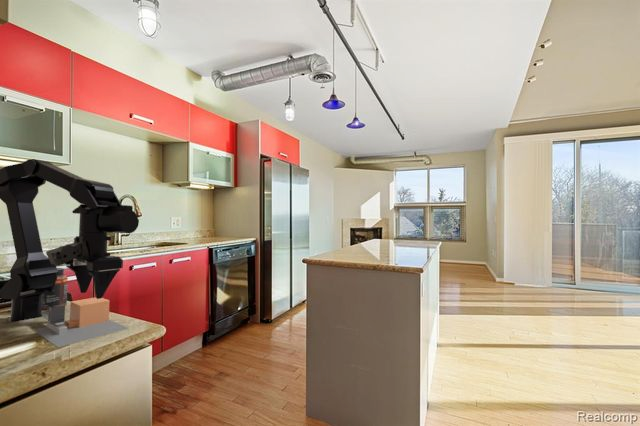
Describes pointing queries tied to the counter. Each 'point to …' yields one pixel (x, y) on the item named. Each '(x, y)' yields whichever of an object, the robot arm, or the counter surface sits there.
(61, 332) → the latch plate
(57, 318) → the latch bolt
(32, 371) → the counter surface
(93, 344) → the counter surface
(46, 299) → the supplement bottle
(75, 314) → the cover
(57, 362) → the counter surface
